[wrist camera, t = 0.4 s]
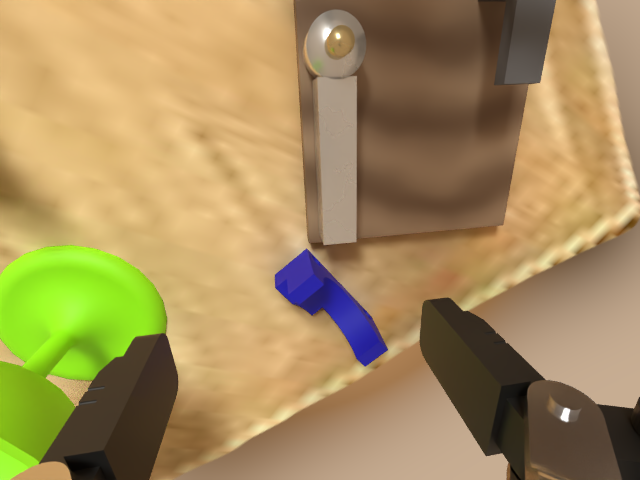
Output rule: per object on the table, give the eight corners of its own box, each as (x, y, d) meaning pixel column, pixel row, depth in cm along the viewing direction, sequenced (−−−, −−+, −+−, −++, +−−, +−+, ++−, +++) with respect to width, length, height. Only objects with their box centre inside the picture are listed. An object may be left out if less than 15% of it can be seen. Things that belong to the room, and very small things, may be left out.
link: (300, 21, 25) (307, 1, 21) (355, 20, 25) (374, 1, 21) (312, 234, 32) (319, 254, 27) (355, 230, 32) (369, 248, 28)
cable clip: (274, 274, 35) (275, 304, 29) (306, 248, 34) (313, 274, 29) (341, 338, 39) (353, 375, 34) (371, 315, 38) (388, 349, 33)
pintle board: (291, -39, 25) (298, -86, 19) (537, -36, 27) (610, -77, 22) (307, 237, 33) (315, 264, 28) (494, 220, 36) (538, 241, 30)
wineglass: (41, 392, 36) (-158, 636, 19) (-46, 265, 29) (-454, 462, 13) (187, 358, 37) (120, 560, 20) (132, 229, 31) (-29, 367, 14)
